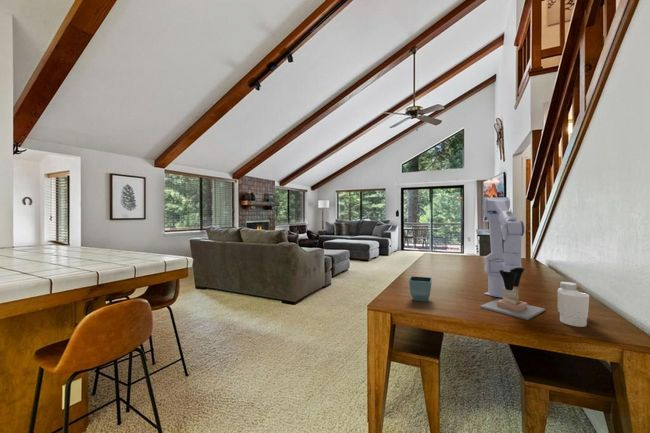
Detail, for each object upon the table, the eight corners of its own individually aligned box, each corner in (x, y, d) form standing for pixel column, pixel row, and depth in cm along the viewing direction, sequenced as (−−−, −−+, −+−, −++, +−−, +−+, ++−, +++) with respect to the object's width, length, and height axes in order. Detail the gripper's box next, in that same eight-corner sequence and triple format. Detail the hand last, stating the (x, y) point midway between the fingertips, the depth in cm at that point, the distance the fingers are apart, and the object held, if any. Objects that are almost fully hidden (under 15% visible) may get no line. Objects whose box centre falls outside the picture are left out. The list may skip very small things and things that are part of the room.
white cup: (551, 319, 100) (552, 290, 100) (572, 318, 101) (573, 289, 101) (573, 328, 92) (573, 297, 92) (595, 327, 93) (596, 296, 93)
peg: (506, 304, 114) (506, 286, 114) (518, 306, 111) (518, 288, 111) (503, 306, 111) (503, 288, 111) (515, 309, 108) (515, 290, 108)
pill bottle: (583, 316, 103) (583, 285, 103) (563, 315, 104) (563, 284, 104) (572, 310, 109) (572, 281, 109) (553, 309, 110) (554, 280, 110)
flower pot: (408, 301, 120) (408, 280, 120) (410, 296, 128) (410, 275, 128) (431, 304, 117) (431, 282, 117) (431, 298, 125) (431, 277, 125)
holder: (498, 300, 122) (499, 293, 122) (544, 310, 109) (544, 303, 109) (480, 307, 112) (480, 300, 112) (527, 319, 99) (527, 311, 99)
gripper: (506, 249, 118) (505, 282, 118) (494, 253, 108) (494, 289, 109) (526, 251, 113) (526, 286, 113) (516, 255, 103) (516, 293, 103)
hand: (512, 288), depth 111 cm, fingers open, 7 cm apart
